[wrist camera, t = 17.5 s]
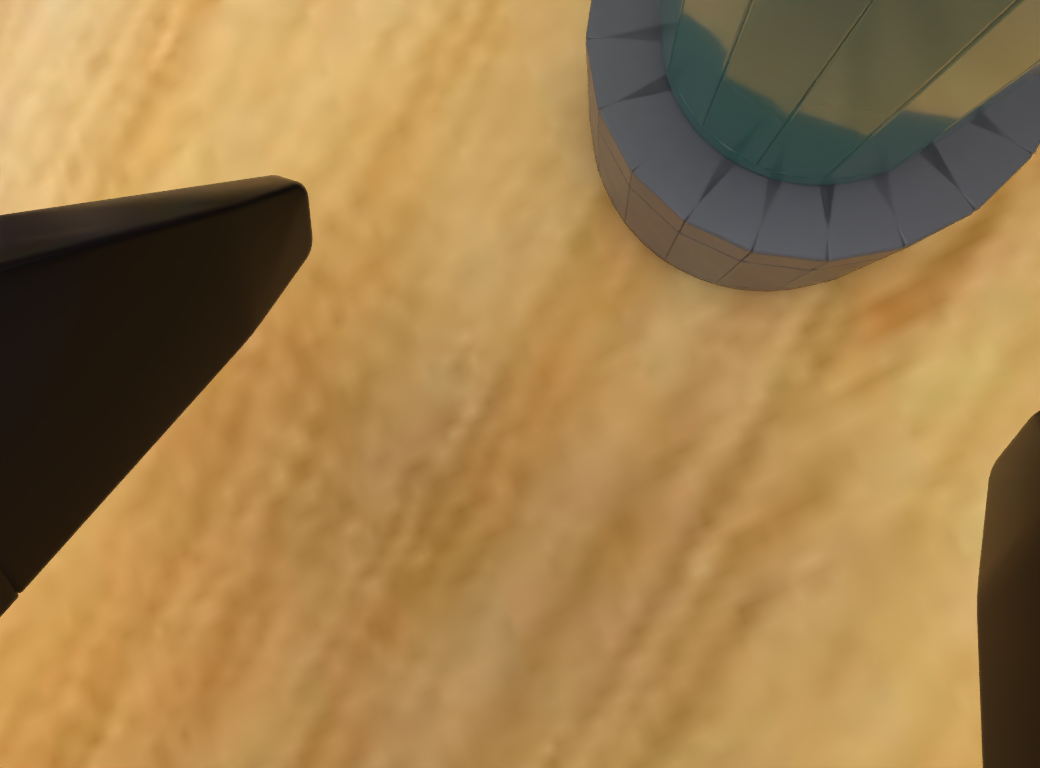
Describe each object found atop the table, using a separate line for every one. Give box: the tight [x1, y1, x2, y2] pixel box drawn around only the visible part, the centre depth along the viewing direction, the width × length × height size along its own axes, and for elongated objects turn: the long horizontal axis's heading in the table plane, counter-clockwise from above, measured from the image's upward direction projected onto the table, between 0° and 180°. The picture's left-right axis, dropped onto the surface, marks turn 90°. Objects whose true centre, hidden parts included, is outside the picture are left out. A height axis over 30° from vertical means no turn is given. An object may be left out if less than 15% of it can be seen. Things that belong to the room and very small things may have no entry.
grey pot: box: [586, 0, 1040, 291], centre depth 18 cm, size 10×10×6 cm
